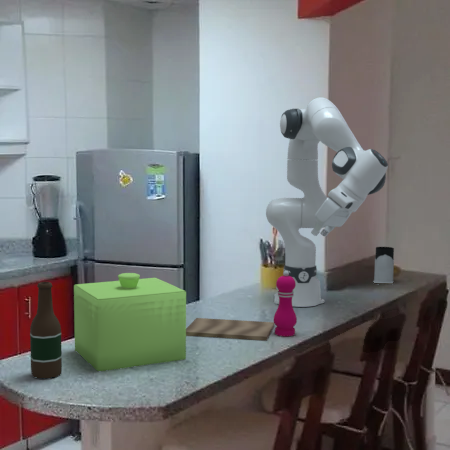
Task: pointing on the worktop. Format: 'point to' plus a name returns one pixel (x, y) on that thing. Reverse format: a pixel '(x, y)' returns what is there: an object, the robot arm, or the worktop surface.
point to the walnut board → (230, 329)
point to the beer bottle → (45, 337)
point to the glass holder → (384, 265)
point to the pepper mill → (285, 306)
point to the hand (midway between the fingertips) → (318, 234)
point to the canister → (129, 322)
